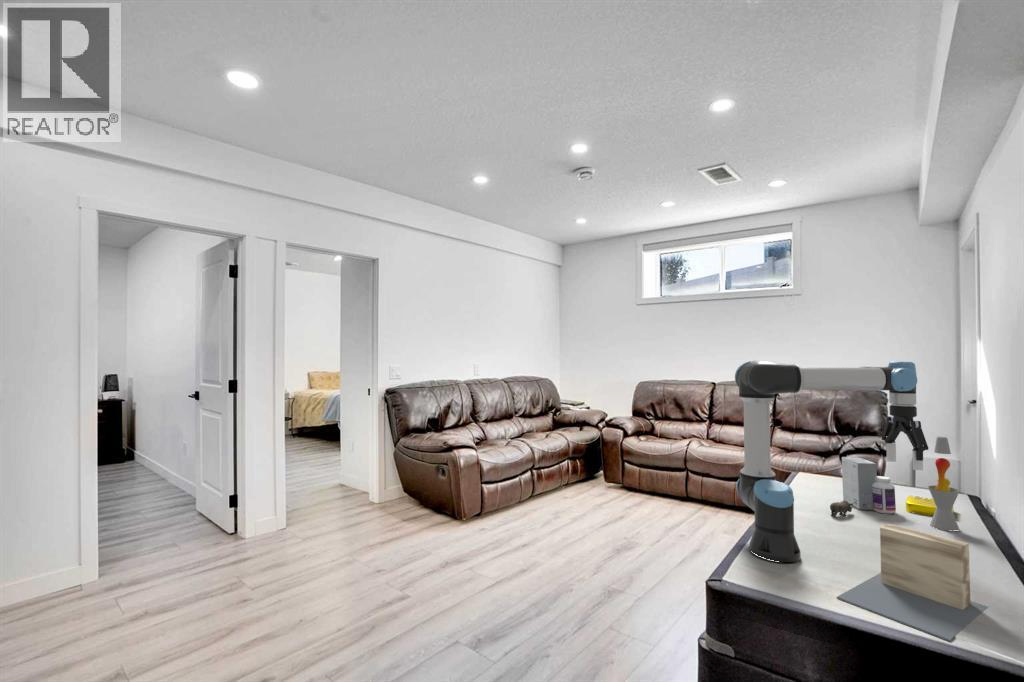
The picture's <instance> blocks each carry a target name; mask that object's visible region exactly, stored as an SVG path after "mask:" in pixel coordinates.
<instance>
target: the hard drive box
mask: <svg viewBox="0 0 1024 682" xmlns="http://www.w3.org/2000/svg"><path fill="white" fill-rule="evenodd" d="M877 465H878V464H877V463H875V462H873V461H870V460H867V459H864V458H861V457H851V456H850V457H849V456H842V457H841V471H842V473H841V474H842V477H841V478H842V497H843V501H847V502H848V503H850V504H852V503H854V504H853V505H852V506H853V507H854V508H856V509H858V510H866V511H868V510H870V511H875V510H874V508H873V491H872V485H873V483H875V482H876V481H875V477H877V476H878V472H877V471H878V469H877Z"/></svg>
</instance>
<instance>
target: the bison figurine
mask: <svg viewBox="0 0 1024 682" xmlns="http://www.w3.org/2000/svg"><path fill="white" fill-rule="evenodd" d="M853 504H854V503H852V504H850V503H848V502H847V501H844V500H843V501H840V502H839V501H837V502H832V503H830V506H829V508H830V516H831V517H832V518H833V519H838V516H837V515H840V516H843V517H845V516H847V517H848V515H847V513H851V512H852V511H853V507H854V506H853Z"/></svg>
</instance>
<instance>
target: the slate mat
mask: <svg viewBox="0 0 1024 682" xmlns="http://www.w3.org/2000/svg"><path fill="white" fill-rule="evenodd" d="M837 598H838V600H840V599H841V600H840V601H843V602H845V601H846V603H848V602H849V604H850V603H851V605H853V606H856V607H859V608H861V609H864V610H867V611H869V612H871V613H873V614H877V615H879V616H882V617H884V618H887V619H890V620H892V621H894V622H897V623H900V624H903V625H906V626H907V627H911V628H913V629H915V630H919V631H920V632H924V633H926V634H929V635H932V636H935V637H938V639H939V638H940V639H941V640H944V641H947V642H952V641H953V640H954V639H955V638H956V636H957V635H958V634H959V633H960V632H961V631H963V629H965V628H966V627H967V626H968V625H969V624H970V623H971V622H973V621H974V620H975V619H976V618H977V617H978V616H979V615H981V614H982V613H983V612H984V611H985V610H987V609H988V608H989V606H987V605H985V604H981V603H979V602H975V601H972V600H970V603H971V604H970V605H968V606H967V607H966V608H965V609H963V610H961V609H958V608H955V607H952V606H949V605H946V604H943V603H940V602H937V601H934V600H931V599H928V598H925V597H922V596H919V595H916V594H913V593H910V592H907V591H904V590H901V589H898V588H895V587H892V586H890V585H887V584H884V583H881V572H879V573H878V574H876V575H873V576H872V577H870V578H869V579H867V580H865V581H863V582H861V583H859V584H858V585H855V586H854V587H852V588H850V589H849V590H847V591H844V592H843V593H841V594H839V595H838V596H836V599H837Z"/></svg>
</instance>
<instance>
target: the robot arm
mask: <svg viewBox="0 0 1024 682" xmlns="http://www.w3.org/2000/svg"><path fill="white" fill-rule="evenodd" d="M734 380H735V383H736V385H737V387H738V395H739V396H738V397H739V399H740V400H742V402H743V443H744V444H743V445H744V447H743V450H744V453H743V455H744V457H743V458H744V460H743V462H744V466H743V467H742V468H741V469H740V470H739V478H738V480H737V482H736V484H735V485H736V486H735V487H736V488H735V489H736V494H737V496H738V497H739V499H740V501H741V502H742V503H743V504H744V505H745V506H747V507H748V508H750V509H751V510H752V511H754V530H753V533H752V535H751V538H750V541H749V551H750V550H751V551H752V552H753V553H755V554H757V555H758V556H761V557H764V558H766V559H770V560H774V561H779V562H789V563H788V564H791V563H790V562H795V563H798V562H800V561H801V559H802V558H801V554H802V553H801V550H800V547H799V544H798V541H797V537H796V536H795V514H794V513H795V512H794V511H795V509H794V508H795V507H794V505H795V496H794V492H793V491H794V490H793V489H792V487H791V486H790V485H789V484H786V483H785V482H782V481H781V482H780V481H778V480H776V479H777V478H776V475H777V474H776V473H775V471H774V470H772V467H771V466H772V464H771V406H770V405H771V402H773V401H774V400H775V395H776V394H777V395H778V394H789V393H791V394H797V393H799V392H800V391H802V390H803V391H812V390H813V391H888V395H889V396H888V397H889V398H888V399H889V400H888V402H889V415H890V416H886V423H885V425H884V429H883V432H882V436H881V440H882V441H884V443H885V446H886V447H885V449H886V450H885V451H886V462H894V463H895V462H897V445H896V440H897V438H898V437H899V435H900V434H901V432H902V433H904V434H905V435H906V436H907V439H908V440H909V443H910V444H911V446H912V447H913V449H912V454H911V455H912V470H913V471H924V451H928V450H929V448H930V447H929V445H928V443H927V439H926V437H925V435H924V431H923V428H922V422H921V421H920V420H914V418H916V417H918V410H917V406H916V405H917V384H918V377H917V368H916V364H915V363H914V362H912V361H890V362H889V363H888V365H887V366H856V367H804V366H803V367H800V366H799V365H798V364H790V363H789V364H788V363H787V364H786V363H779V362H772V361H767V360H764V361H763V360H749V361H746V362H743V363H742V364H740V365H739V366H738V368H737V369H736V370H735V374H734ZM799 560H800V561H799ZM797 561H798V562H797Z"/></svg>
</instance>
